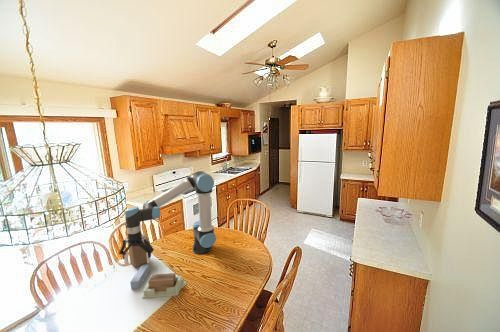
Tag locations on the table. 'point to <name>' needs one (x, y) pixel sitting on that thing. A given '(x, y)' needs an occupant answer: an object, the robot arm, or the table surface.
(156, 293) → the jig
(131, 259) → the wooden block
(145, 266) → the blue-grey rectangular prism
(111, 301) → the table surface
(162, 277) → the brown rectangular block
